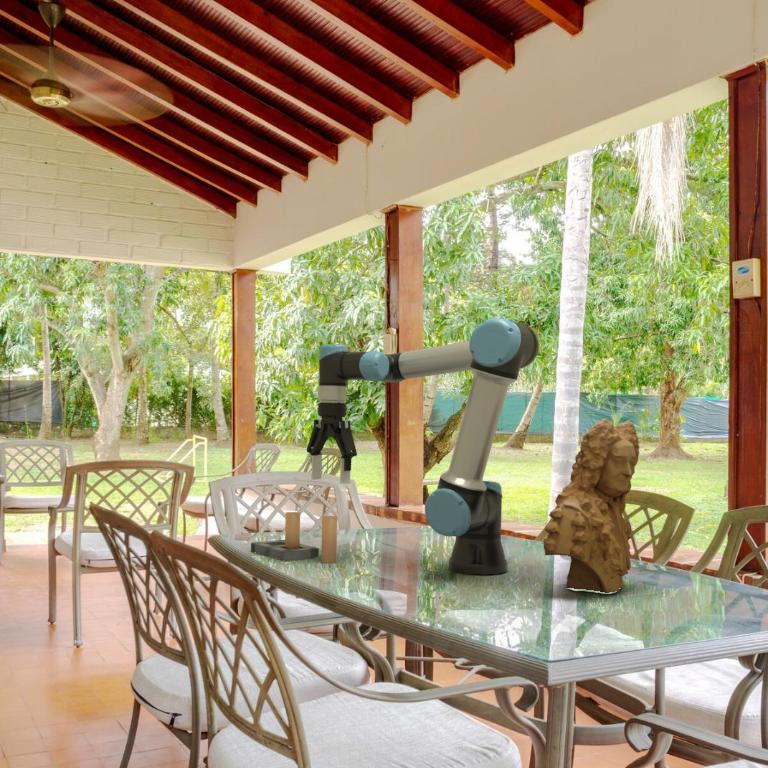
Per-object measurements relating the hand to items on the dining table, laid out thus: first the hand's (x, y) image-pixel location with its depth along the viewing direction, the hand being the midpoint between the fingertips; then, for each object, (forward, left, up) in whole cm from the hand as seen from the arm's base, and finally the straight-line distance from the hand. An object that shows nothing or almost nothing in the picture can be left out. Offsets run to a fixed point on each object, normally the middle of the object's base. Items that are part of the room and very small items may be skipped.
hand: (330, 481), depth 231 cm
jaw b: (0, 0, -21) cm, 21 cm away
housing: (+16, +4, -21) cm, 27 cm away
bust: (-62, -33, -22) cm, 74 cm away
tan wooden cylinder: (+12, +4, -21) cm, 25 cm away
